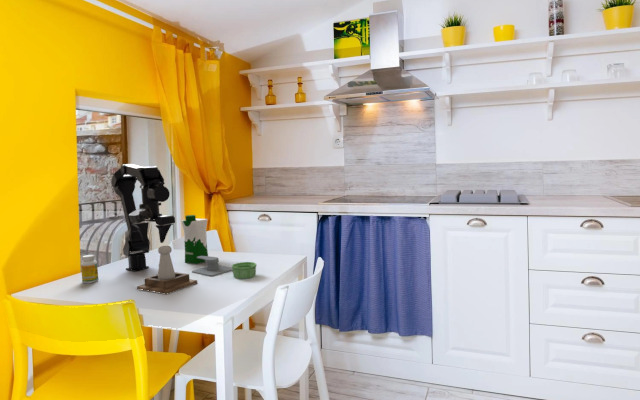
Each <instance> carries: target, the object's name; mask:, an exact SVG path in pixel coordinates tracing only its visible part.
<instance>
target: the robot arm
mask: <svg viewBox="0 0 640 400" xmlns="http://www.w3.org/2000/svg"><path fill="white" fill-rule="evenodd" d="M137 181H138V182H139V183H140V186H139V189H141V191H140V192H141V203H139V205H138V206H139V208H138V209H137V208H136V204H135V200H134V199H135V198H134V192H135V189H136V185H135V184H136V183H137ZM110 184H111V187H112V188H113V191H114V194H116V195H117V196H118V197H119V198H120V202H121V207H122V210H123V215H124V219H125V224H126V227H127V233H126V236H125V238H124V239H125V244H124V246H123V248H122V253H123V256H127V257H128V258H127V260H128V267H126V268H125V270H126V271H133V272H139V271H142V270H146V269H148V268H150V266H149V265H147V259H146V254H149V253H150V246H151V241H150V239H149V237H148V232H149V224H150V223H149V222H151V223H153V222H154V223H155V224H156V225H155V227H156V228H157V229H158V235H159V243H161V244H162V243H164V242H165V241H166V237H167V235H168V232H169V231H170V228H171V227H172V226H173V225H174V224H176V218H175V216H174V215H172V214H171V215H170V214H165V215H163V214H162V212H161V213H160V206H162V202H163V203H164V202H166V201H168V199H169V198H170V190H169V189H168V187H166V186H165V184H166V183H165V179H164V176H163V175H162V173H161V171H160V169H159V167H157V165H155V166H140V165H137V164H134V163H126V164H125V163H123V164H121V166H120V167H119V169H117V170H116V171H115V172H114V173H113V175H112V177H111V183H110Z"/></svg>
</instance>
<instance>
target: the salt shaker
mask: <svg viewBox="0 0 640 400" xmlns="http://www.w3.org/2000/svg"><path fill="white" fill-rule="evenodd" d="M157 248H158V249H157V251H158V253H159V254H160V255H159V263H158V270H157V274H158V279H160V280H169V279H172V278H175V272H176V271H175V269H174V265H173V262H172V258H171V253H172V247H171V246H170V245H161V246H159V247H157Z"/></svg>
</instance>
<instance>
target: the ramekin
mask: <svg viewBox="0 0 640 400" xmlns="http://www.w3.org/2000/svg"><path fill="white" fill-rule="evenodd" d="M231 267H232V269H233V271H232V275H233V277H234V279H237V280H238V279H239V280H248V279H252V278H254V277H255V276H256V273H257V272H256V271H257V263H256V262H253V261H243V262H241V261H240V262H236V263H234V264H232V265H231Z"/></svg>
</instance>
